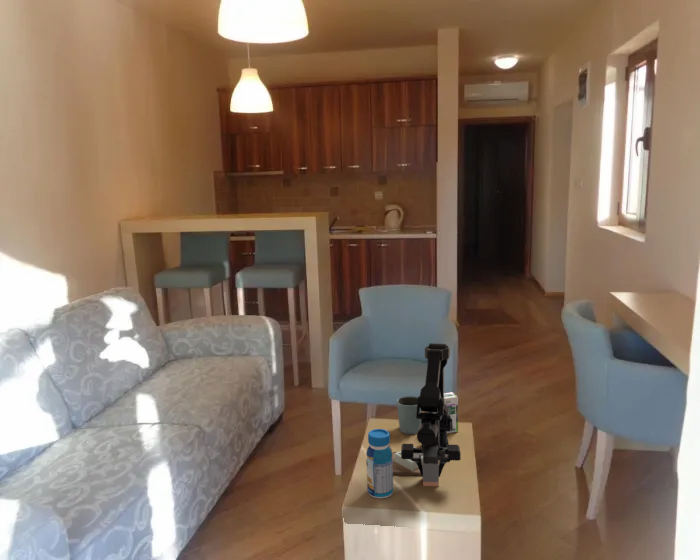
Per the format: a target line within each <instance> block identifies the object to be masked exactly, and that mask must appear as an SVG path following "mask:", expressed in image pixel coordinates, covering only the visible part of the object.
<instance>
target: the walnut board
mask: <svg viewBox="0 0 700 560" xmlns="http://www.w3.org/2000/svg"><path fill="white" fill-rule="evenodd" d="M397 452H398V451H392V453H393V454H392V459H393V476H394V474H395V476H396V475H397V474H398V475H399V476H402V475H403V476H421V473H420V470H419V468H417V469H415V470H413V471H411V470H409V469H408V468H406V467H404V466H402V465H400V464H398V463H396V462H395V457H394V453H397ZM410 460H411V459H410ZM422 467H423V466H422ZM398 475H397V476H398Z"/></svg>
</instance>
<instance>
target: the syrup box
mask: <svg viewBox="0 0 700 560" xmlns="http://www.w3.org/2000/svg"><path fill="white" fill-rule="evenodd" d="M444 403H445V405H446V406H447V407H448V409H449V415H450V416H451V419H452V423H453V430H450V432H449V431H447V434H450V433H451V434H452V433H458V432H459V397H458V396H457V394H455V392H452V391H450V392H446V393H445V392H444Z"/></svg>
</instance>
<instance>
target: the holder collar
mask: <svg viewBox="0 0 700 560" xmlns="http://www.w3.org/2000/svg"><path fill="white" fill-rule="evenodd" d="M413 448H417V447H416V446H415V445H413ZM396 452H397V453H394V457H395V462H396V463H398V464H400V465H402V466H404V467H406V468H408V469H409V470H411V471H413V470H415V469H417V468H418V465H417V464H416V462H415V461H412V460H410V459H402V458H401V450H399V451H396ZM421 460H422V466H423V454H421Z"/></svg>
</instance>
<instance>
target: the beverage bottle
mask: <svg viewBox="0 0 700 560" xmlns="http://www.w3.org/2000/svg"><path fill="white" fill-rule="evenodd" d="M367 439H368V441H367V442H368V447H367V449H366V453H365V454H366V459H365V464H366V465H365V466H366V478H367V479H366V480H367V481H366V482H367V483H366V484H367V485H366V486H367V487H366V489H367V490H366V491H367V493H368V495H369V496H371V497H372V498H374V499H387V498H389V497H390V496H392V495H393V492H394V475H393V459H392V454H393V450H392V448H391V446H390V442H391V434H390V432H389V431H388V430H387V429H383V428H375V429H372V430H369V431H368V434H367Z"/></svg>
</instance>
